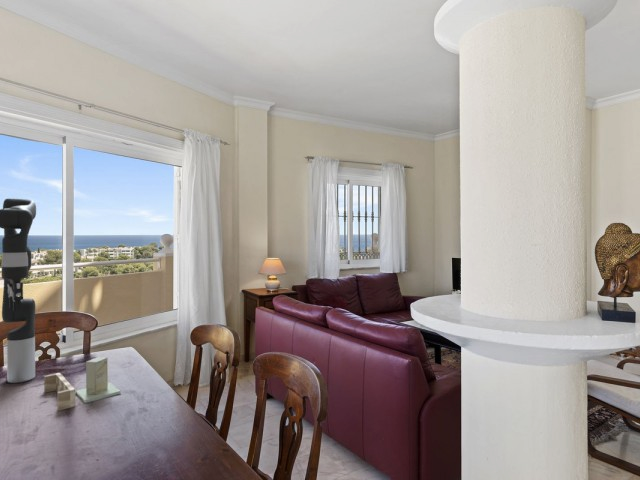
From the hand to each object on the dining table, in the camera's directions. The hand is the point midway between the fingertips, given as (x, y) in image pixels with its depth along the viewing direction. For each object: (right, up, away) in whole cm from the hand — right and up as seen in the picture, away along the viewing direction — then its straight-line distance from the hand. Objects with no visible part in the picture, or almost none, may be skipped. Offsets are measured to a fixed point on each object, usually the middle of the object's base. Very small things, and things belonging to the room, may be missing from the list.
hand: (15, 310), depth 140 cm
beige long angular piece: (+14, -33, +3) cm, 36 cm away
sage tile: (+25, -33, +8) cm, 42 cm away
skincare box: (+25, -32, +8) cm, 42 cm away
